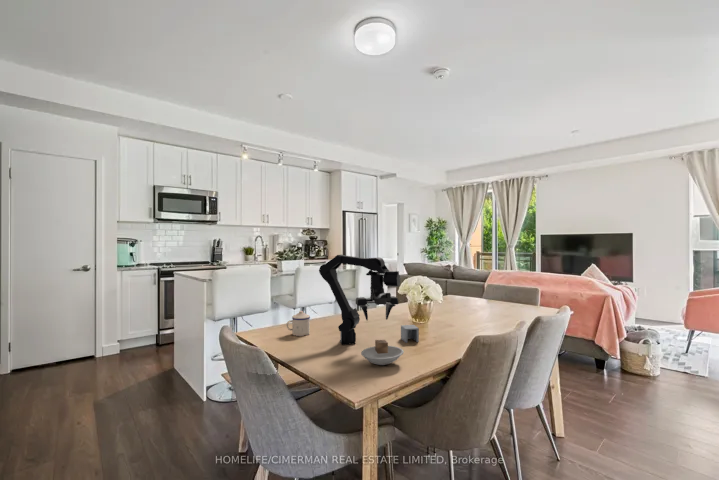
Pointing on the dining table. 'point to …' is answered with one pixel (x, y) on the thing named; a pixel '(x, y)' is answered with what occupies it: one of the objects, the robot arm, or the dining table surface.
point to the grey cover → (409, 333)
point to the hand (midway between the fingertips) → (376, 319)
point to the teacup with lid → (300, 324)
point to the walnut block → (381, 346)
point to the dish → (382, 355)
